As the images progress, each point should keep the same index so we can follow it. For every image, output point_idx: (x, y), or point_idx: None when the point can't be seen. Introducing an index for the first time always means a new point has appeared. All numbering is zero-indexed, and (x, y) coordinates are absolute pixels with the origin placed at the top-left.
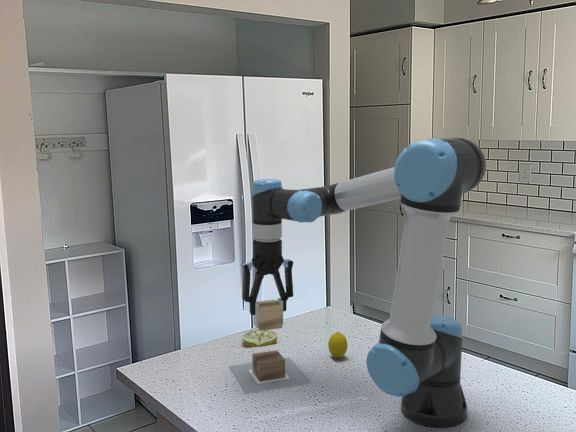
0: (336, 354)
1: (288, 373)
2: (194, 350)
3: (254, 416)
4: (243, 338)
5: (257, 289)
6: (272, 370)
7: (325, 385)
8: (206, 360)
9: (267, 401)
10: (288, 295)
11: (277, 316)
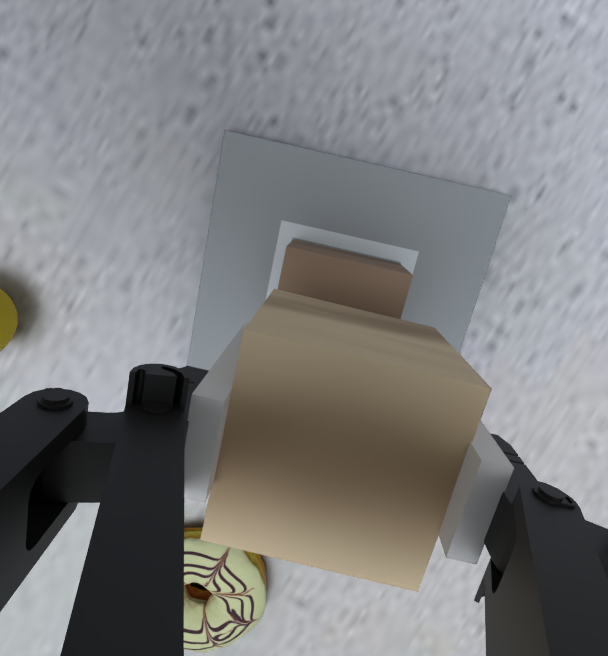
0: (3, 291)
1: (262, 265)
2: (434, 641)
3: (562, 34)
4: (262, 612)
5: (578, 609)
6: (349, 255)
7: (174, 117)
8: (443, 553)
9: (447, 124)
10: (87, 425)
11: (304, 316)
